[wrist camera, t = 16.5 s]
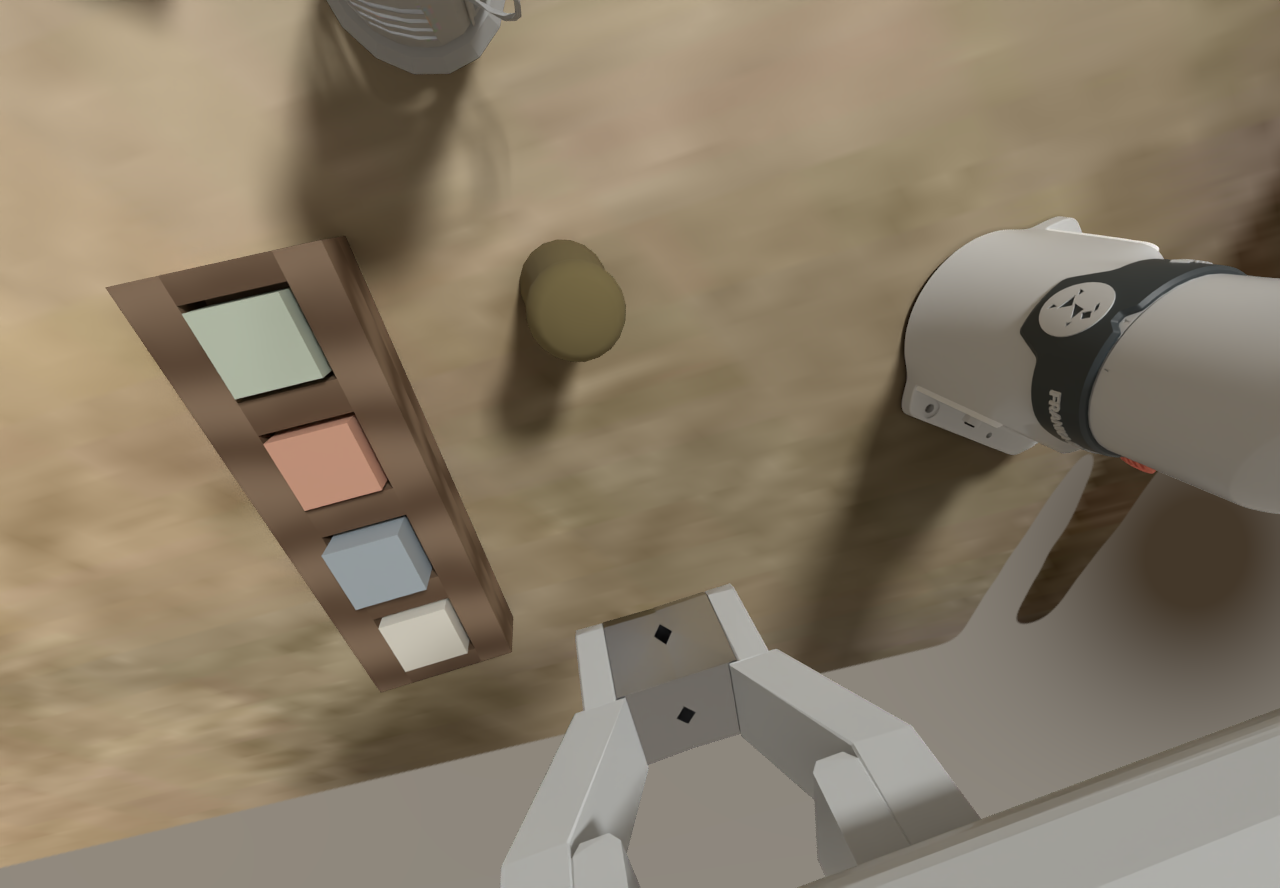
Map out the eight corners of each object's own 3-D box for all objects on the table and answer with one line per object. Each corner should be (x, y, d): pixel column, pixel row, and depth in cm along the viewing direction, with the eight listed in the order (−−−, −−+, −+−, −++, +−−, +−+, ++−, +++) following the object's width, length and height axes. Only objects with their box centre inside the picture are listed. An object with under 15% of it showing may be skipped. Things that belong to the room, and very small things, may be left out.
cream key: (386, 605, 40) (378, 628, 37) (448, 586, 40) (444, 608, 38) (412, 647, 42) (405, 672, 40) (470, 629, 42) (467, 653, 40)
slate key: (334, 533, 35) (321, 556, 33) (405, 514, 36) (397, 534, 33) (366, 586, 37) (355, 609, 35) (432, 567, 38) (426, 589, 36)
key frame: (156, 277, 29) (105, 287, 26) (345, 235, 30) (321, 239, 27) (392, 653, 44) (380, 692, 41) (513, 617, 46) (511, 652, 42)
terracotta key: (281, 428, 32) (263, 444, 30) (359, 408, 33) (346, 423, 31) (318, 491, 35) (304, 511, 32) (391, 472, 35) (382, 490, 33)
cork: (547, 345, 36) (554, 397, 26) (502, 264, 33) (491, 289, 23) (622, 307, 36) (658, 344, 26) (583, 223, 33) (607, 230, 23)
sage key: (208, 305, 29) (181, 314, 26) (297, 285, 29) (278, 291, 27) (255, 385, 31) (235, 399, 29) (337, 365, 31) (323, 377, 29)
